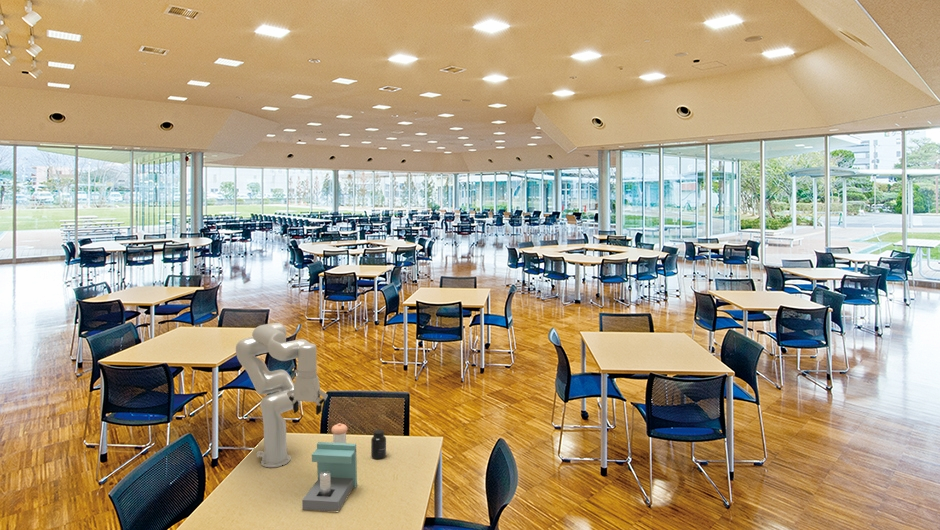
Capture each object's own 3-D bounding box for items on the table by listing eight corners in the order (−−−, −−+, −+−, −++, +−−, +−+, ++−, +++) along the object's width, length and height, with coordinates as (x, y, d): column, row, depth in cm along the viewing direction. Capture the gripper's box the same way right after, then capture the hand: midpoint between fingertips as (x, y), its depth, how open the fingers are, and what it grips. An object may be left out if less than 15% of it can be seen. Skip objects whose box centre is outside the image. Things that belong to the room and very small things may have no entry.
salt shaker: (350, 461, 243) (350, 420, 241) (345, 469, 236) (344, 427, 234) (335, 460, 244) (334, 420, 242) (329, 468, 236) (328, 426, 235)
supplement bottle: (383, 460, 244) (382, 435, 243) (369, 458, 246) (368, 433, 244) (388, 453, 251) (388, 429, 250) (374, 452, 252) (374, 427, 251)
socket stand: (299, 509, 203) (298, 464, 202) (319, 483, 223) (318, 441, 221) (340, 512, 202) (339, 466, 200) (356, 485, 222) (356, 443, 220)
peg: (318, 505, 207) (318, 475, 206) (322, 499, 211) (322, 470, 210) (328, 505, 206) (328, 475, 205) (332, 500, 210) (331, 470, 209)
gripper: (283, 374, 219) (283, 414, 221) (323, 377, 218) (323, 417, 220) (291, 369, 227) (291, 407, 229) (330, 371, 225) (330, 410, 227)
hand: (307, 412), depth 224 cm, fingers open, 9 cm apart
